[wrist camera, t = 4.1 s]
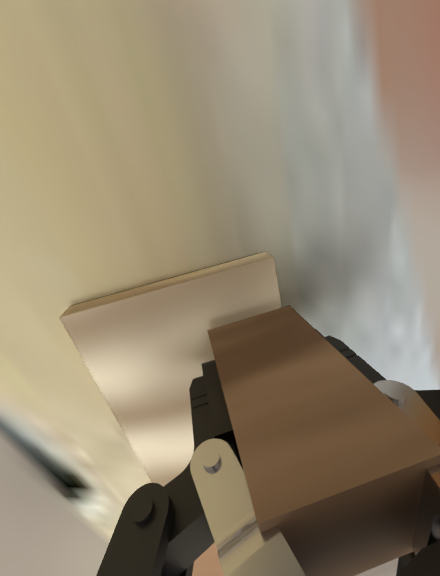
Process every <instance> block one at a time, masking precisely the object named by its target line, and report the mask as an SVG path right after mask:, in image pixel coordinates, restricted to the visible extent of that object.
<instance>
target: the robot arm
mask: <svg viewBox="0 0 440 576" xmlns="http://www.w3.org/2000/svg"><path fill="white" fill-rule="evenodd" d="M315 330H316V329H315ZM316 331H317V330H316ZM317 332H318V331H317ZM318 333H319V334H320V335H322V334H321V333H320V332H318ZM322 336H323V335H322ZM323 337H324V336H323ZM324 338H325V339H326V340H327V341H328V342H329V343H330V344H331V345H332V346H333V347H334V348H335V349H336V350H338V351H339V352H340V353H341V354H342V355H343V356H344V357H345V358H346V359H347V360H348V361H349V362H350V363H351V364H352V365H354V366H355V367H356V368H357V369H358V370H359V371H360V372H361V373H362V374H363V375H364V376H365V377H366V378H367V379H368V380H370V381H371V382H372V383H373V384H374V385H375V386H376V387H377V388H378V389H379V390H380V391H381V392H382V393H383V394H384V395H386V396H387V397H388V398H389V399H390V400H391V401H392V402H393V403H394V404H395V405H396V406H397V407H398V408H399V409H400V410H402V411H403V412H404V413H405V414H406V415H407V416H408V417H409V418H410V419H411V420H412V421H413V422H414V423H415V424H416V425H418V426H419V427H420V428H421V429H422V430H423V431H424V432H425V433H426V434H427V435H428V436H429V437H430V438H431V439H432V440H434V441H435V442H436V443H437V444H438V445H439V446H440V390H421V391H420V390H413V389H412V388H411V387H409V386H407V385H405V384H403V383H400V382H397V381H392V380H386V379H385V378H384V377H383V376H381V375H380V374H379V373H378V372H377V371H376V370H374V369H373V368H372V367H371V366H370V365H369V364H367V363H366V362H365V361H364V360H363V359H362V358H361V357H359V356H357V355H356V353H355V352H354V351H352V350H351V349H349V347H348V346H347V345H345V344H344V343H343V342H342V341H341V340H338V339H336V338H334V337H331V336H327V337H324ZM201 365H202V371H203V376H201V377H197V378H194V379H193V380H192V383H191V386H190V388H189V392H190V404H191V415H192V426H193V438H194V452H193V455H192V458H191V460H190V462H189V464H188V465H187V467H186V468H185V469H184V470H183V472H181V473H180V474H179V475H178V476H177V477H175V478H174V479H173V480H171V481H170V482H169V483H167V484H166V485H165V486H162V485H161V484H158V483H148V484H145V485H143V486H142V487H140V488H138V489H137V490H136V491H135V492H134V493H133V494H132V495H131V496H130V498H129V499H128V501H127V502H126V504H125V506H124V508H123V510H122V513H121V515H120V518H119V520H118V523H117V525H116V528H115V530H114V533H113V535H112V538H111V540H110V543H109V545H108V548H107V551H106V553H105V555H104V558H103V560H102V563H101V565H100V568H99V570H98V573H97V576H192V572H193V566H194V561H195V560H196V559H197V558H198V557H200V556H201V555H202V554H203V553H204V552H205V551H206V550H207V549H208V548H209V547H210V546H211V545H212V544H213V543H214V542H215V545H216V548H217V551H218V557H219V561H220V564H221V567H222V570H223V573H224V576H305V574H304V572H303V570H302V568H301V567H300V565H299V563H298V561H297V559H296V558H295V556H294V554H293V552H292V551H291V549H290V547H289V545H288V543H287V542H286V540H285V538H284V536H283V535H282V533H281V531H280V529H279V528H278V526H275V527H273V528H270V529H268V530H266V531H263V532H261V533H260V530H259V527H258V524H257V520H256V516H255V512H254V508H253V504H252V501H251V497H250V493H249V489H248V485H247V481H246V478H245V474H244V470H243V466H242V462H241V458H240V454H239V451H238V447H237V443H236V439H235V435H234V431H233V427H232V424H231V420H230V416H229V412H228V408H227V404H226V401H225V397H224V393H223V389H222V385H221V381H220V377H219V374H218V370H217V366H216V362H215V360H212V361H209V362H205V363H202V364H201ZM412 548H413V551H414V553H415V555H416V556H415V557H414V558H413V559H412V560H411V561H410V563H409V564H408V565H407V566H406V567H405V568H404V570H403V571H402V572H401V573H400V574H399V575H398V576H440V464H438V465H435V466H432V467H429V468H426V473H425V478H424V484H423V489H422V495H421V500H420V506H419V511H418V516H417V522H416V527H415V533H414V538H413V544H412Z"/></svg>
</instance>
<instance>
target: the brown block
mask: <svg viewBox="0 0 440 576" xmlns="http://www.w3.org/2000/svg"><path fill="white" fill-rule="evenodd" d="M207 331H208V335H209V339H210V343H211V347H212V350H213V354H214V358H215V362H216V366H217V370H218V374H219V377H220V381H221V385H222V389H223V393H224V397H225V401H226V404H227V408H228V412H229V416H230V420H231V424H232V427H233V431H234V435H235V439H236V443H237V447H238V451H239V454H240V458H241V462H242V466H243V470H244V474H245V478H246V481H247V485H248V489H249V493H250V497H251V501H252V504H253V508H254V512H255V516H256V520H257V524H258V527H259V530H260V533H261V532H263V531H266V530H268V529H270V528H273V527H275V526H278V528H279V529H280V531H281V533H282V535H283V536H284V538H285V540H286V542H287V543H288V545H289V547H290V549H291V551H292V552H293V554H294V556H295V558H296V559H297V561H298V563H299V565H300V567H301V568H302V570H303V572H304V574H305V576H396V573H397V566H398V559H399V557H401V556H404V555H406V554H408V553H411V552H413V548H412V544H413V538H414V533H415V527H416V522H417V516H418V511H419V506H420V500H421V495H422V489H423V484H424V478H425V473H426V468H429V467H432V466H435V465H438V464H440V446H439V445H438V444H437V443H436V442H435V441H434V440H432V439H431V438H430V437H429V436H428V435H427V434H426V433H425V432H424V431H423V430H422V429H421V428H420V427H419V426H418V425H416V424H415V423H414V422H413V421H412V420H411V419H410V418H409V417H408V416H407V415H406V414H405V413H404V412H403V411H402V410H400V409H399V408H398V407H397V406H396V405H395V404H394V403H393V402H392V401H391V400H390V399H389V398H388V397H387V396H386V395H384V394H383V393H382V392H381V391H380V390H379V389H378V388H377V387H376V386H375V385H374V384H373V383H372V382H371V381H370V380H368V379H367V378H366V377H365V376H364V375H363V374H362V373H361V372H360V371H359V370H358V369H357V368H356V367H355V366H354V365H352V364H351V363H350V362H349V361H348V360H347V359H346V358H345V357H344V356H343V355H342V354H341V353H340V352H339V351H338V350H336V349H335V348H334V347H333V346H332V345H331V344H330V343H329V342H328V341H327V340H326V339H325V338H324V337H323V336H322V335H320V334H319V333H318V332H317V331H316V330H315V329H314V328H313V327H312V326H311V325H310V324H309V323H308V322H307V321H306V320H304V319H303V318H302V317H301V316H300V315H299V314H298V313H297V312H296V311H295V310H294V309H293V308H292V307H291V306H290V305H289V306H286V307H283V308H279V309H276V310H273V311H269V312H266V313H263V314H259V315H256V316H253V317H250V318H246V319H243V320H240V321H236V322H233V323H230V324H226V325H223V326H220V327H217V328H213V329H210V330H207Z"/></svg>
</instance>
